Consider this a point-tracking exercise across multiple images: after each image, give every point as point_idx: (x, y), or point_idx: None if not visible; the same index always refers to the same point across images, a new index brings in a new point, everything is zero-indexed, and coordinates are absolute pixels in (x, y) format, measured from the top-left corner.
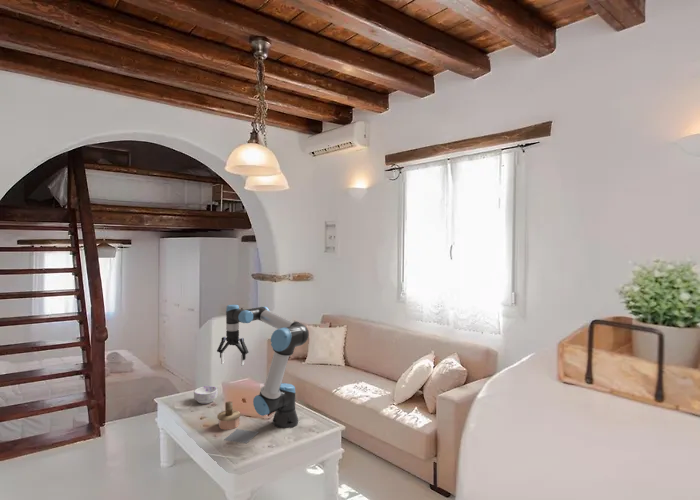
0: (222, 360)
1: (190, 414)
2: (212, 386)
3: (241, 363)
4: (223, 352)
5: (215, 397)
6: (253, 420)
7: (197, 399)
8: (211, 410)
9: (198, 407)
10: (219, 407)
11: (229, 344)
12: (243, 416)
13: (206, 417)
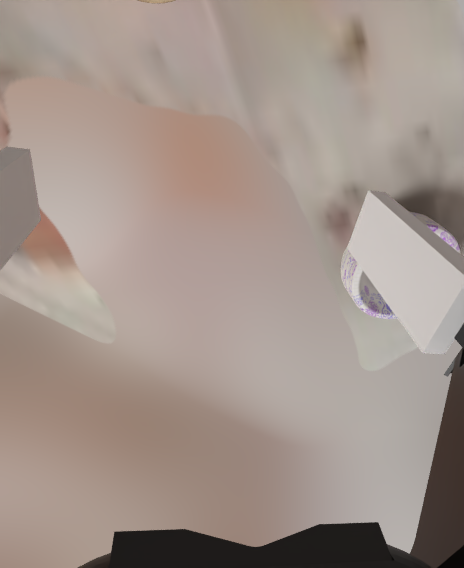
0: (387, 218)
1: (426, 87)
2: (382, 315)
3: (6, 160)
4: (442, 342)
5: (344, 253)
6: (51, 44)
7: (425, 216)
8: (331, 153)
9: (402, 180)
10: (303, 193)
11: (396, 559)
12: (137, 97)
13: (334, 55)
